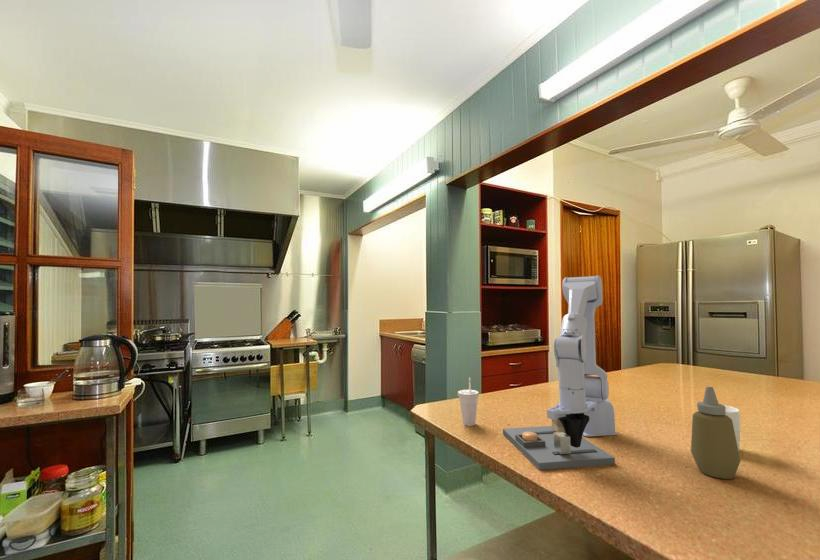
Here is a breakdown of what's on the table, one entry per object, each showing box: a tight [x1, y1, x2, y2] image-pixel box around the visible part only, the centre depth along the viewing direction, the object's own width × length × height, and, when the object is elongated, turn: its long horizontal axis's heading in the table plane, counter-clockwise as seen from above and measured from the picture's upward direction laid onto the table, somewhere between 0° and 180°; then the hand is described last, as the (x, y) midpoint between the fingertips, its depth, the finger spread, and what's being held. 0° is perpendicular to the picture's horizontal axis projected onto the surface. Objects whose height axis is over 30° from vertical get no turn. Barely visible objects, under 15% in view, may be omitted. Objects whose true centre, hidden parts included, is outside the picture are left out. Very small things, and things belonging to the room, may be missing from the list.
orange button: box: [522, 432, 537, 442], centre depth 91 cm, size 4×4×2 cm
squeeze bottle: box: [690, 386, 741, 480], centre depth 77 cm, size 8×8×18 cm
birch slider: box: [551, 418, 565, 432], centre depth 98 cm, size 2×3×4 cm
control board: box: [502, 425, 616, 471], centre depth 91 cm, size 18×22×3 cm
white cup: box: [723, 404, 741, 452], centre depth 89 cm, size 8×8×10 cm
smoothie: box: [457, 377, 479, 427], centre depth 111 cm, size 6×6×14 cm
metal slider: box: [554, 432, 571, 454], centre depth 84 cm, size 2×3×4 cm
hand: (574, 445), depth 85 cm, fingers closed
